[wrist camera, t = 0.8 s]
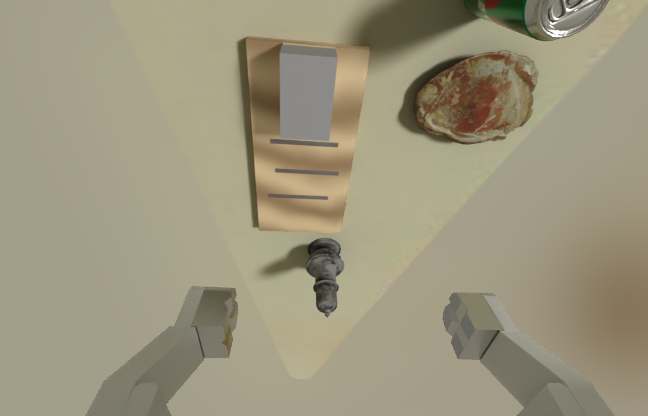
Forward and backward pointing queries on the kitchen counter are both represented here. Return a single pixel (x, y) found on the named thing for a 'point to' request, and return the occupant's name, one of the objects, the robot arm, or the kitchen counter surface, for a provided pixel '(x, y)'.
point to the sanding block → (306, 91)
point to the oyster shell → (478, 98)
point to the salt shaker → (325, 272)
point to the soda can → (539, 15)
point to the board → (303, 143)
